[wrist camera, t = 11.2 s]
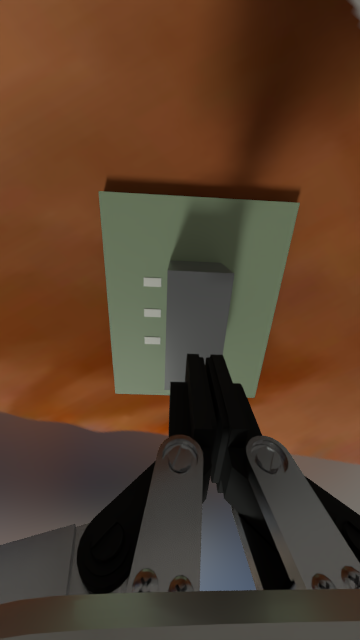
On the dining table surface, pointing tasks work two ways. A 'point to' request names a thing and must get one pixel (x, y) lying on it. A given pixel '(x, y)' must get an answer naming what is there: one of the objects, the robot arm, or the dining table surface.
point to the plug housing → (195, 313)
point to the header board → (200, 246)
